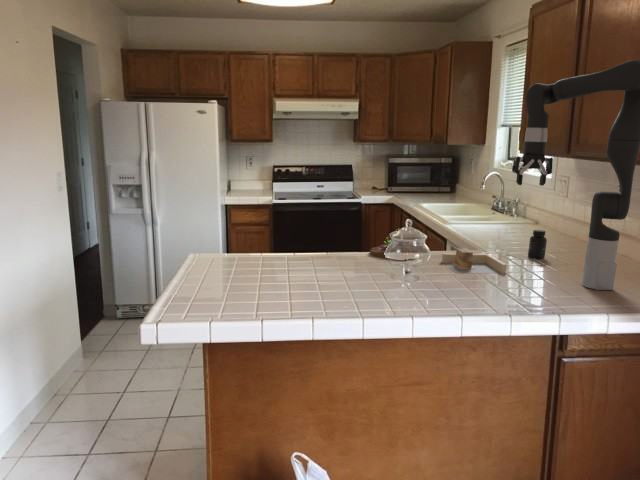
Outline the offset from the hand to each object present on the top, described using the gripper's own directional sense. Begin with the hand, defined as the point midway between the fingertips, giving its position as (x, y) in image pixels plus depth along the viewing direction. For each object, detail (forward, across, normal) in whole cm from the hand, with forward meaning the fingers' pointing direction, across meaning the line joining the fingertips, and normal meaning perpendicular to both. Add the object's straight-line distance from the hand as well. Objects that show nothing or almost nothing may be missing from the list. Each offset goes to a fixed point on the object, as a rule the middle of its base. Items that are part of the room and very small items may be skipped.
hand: (530, 185), depth 194 cm
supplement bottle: (+33, -18, -23) cm, 44 cm away
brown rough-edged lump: (+34, +43, -26) cm, 60 cm away
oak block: (+32, +21, -5) cm, 39 cm away
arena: (+33, +18, -4) cm, 38 cm away
